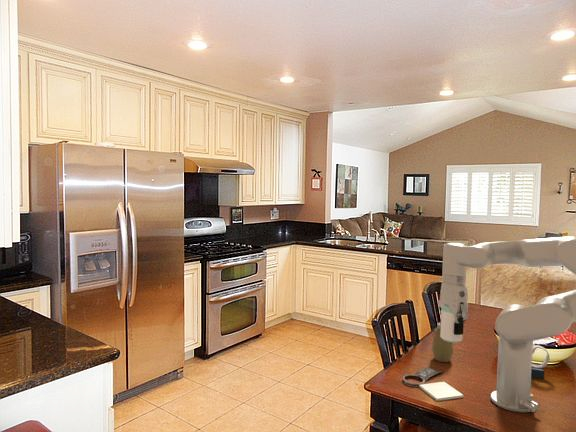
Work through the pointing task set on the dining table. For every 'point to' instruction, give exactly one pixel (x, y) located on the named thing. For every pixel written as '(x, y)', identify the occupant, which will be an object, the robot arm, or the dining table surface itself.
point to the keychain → (421, 376)
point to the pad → (441, 391)
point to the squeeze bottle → (441, 346)
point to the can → (448, 326)
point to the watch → (536, 369)
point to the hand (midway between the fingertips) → (451, 330)
